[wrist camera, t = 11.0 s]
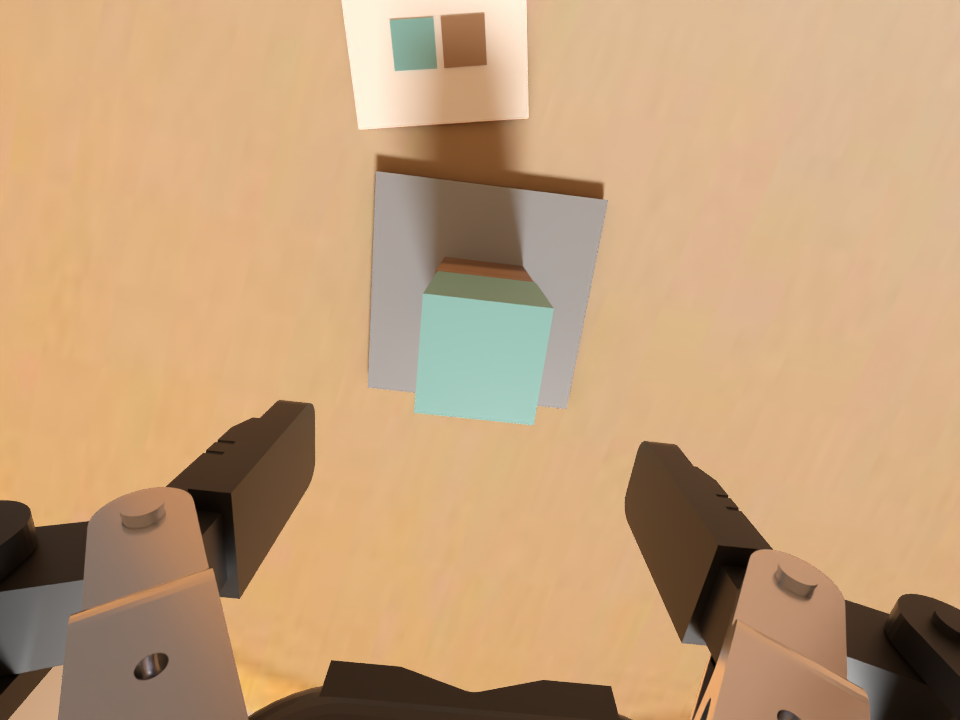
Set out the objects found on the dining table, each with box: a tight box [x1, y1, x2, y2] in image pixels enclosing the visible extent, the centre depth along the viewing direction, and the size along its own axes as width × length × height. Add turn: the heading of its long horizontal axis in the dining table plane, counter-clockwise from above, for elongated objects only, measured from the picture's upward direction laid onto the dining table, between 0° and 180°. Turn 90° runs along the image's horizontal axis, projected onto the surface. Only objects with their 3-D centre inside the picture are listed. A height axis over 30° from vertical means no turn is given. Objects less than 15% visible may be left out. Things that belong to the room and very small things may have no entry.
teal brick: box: [414, 271, 554, 425], centre depth 21 cm, size 5×5×6 cm
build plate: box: [368, 171, 608, 409], centre depth 30 cm, size 14×14×1 cm
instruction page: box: [342, 0, 529, 130], centre depth 25 cm, size 8×10×1 cm
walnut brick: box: [435, 257, 534, 282], centre depth 26 cm, size 5×5×6 cm
